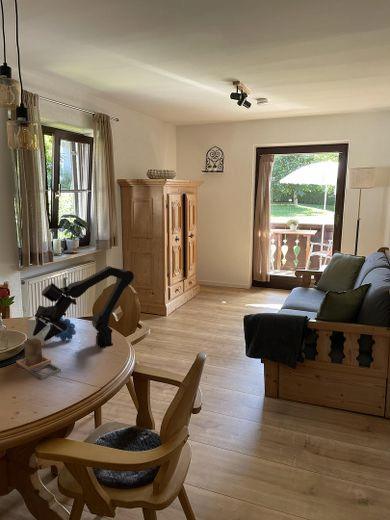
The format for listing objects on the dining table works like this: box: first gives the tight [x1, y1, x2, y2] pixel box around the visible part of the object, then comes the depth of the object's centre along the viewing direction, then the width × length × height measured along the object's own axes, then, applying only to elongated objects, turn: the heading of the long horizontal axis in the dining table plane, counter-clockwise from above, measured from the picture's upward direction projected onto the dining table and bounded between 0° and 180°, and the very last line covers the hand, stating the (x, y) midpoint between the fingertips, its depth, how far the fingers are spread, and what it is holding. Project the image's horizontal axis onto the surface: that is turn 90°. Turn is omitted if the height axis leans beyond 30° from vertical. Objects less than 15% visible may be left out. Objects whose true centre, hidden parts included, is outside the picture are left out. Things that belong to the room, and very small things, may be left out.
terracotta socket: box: [16, 354, 52, 372], centre depth 167 cm, size 10×10×1 cm
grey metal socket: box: [29, 362, 62, 380], centre depth 159 cm, size 9×9×1 cm
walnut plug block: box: [23, 338, 43, 367], centre depth 166 cm, size 5×5×10 cm
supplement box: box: [27, 316, 52, 346], centre depth 189 cm, size 7×7×13 cm
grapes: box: [52, 317, 77, 341], centre depth 190 cm, size 12×7×12 cm, turn 105°
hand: (38, 338), depth 167 cm, fingers open, 9 cm apart
